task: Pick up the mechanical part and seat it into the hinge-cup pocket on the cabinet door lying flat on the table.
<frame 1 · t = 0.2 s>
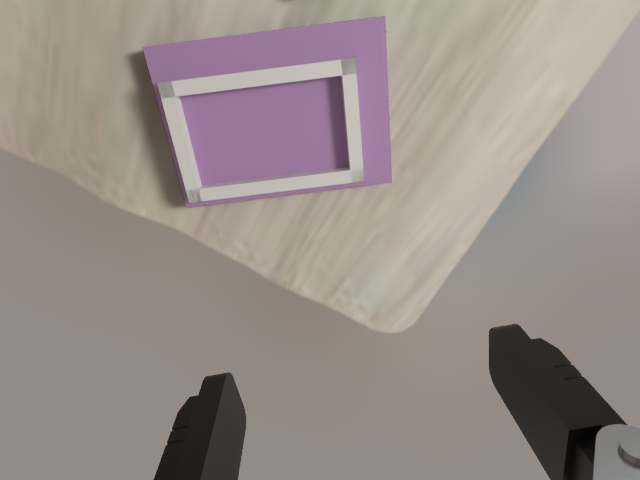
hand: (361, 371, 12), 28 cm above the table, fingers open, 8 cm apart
door panel: (278, 117, 36), on the table
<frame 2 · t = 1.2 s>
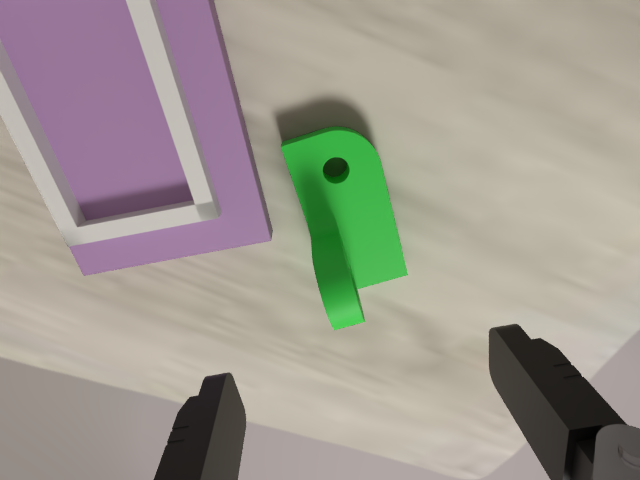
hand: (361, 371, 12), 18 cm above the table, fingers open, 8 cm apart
mechanical part: (346, 205, 29), on the table
door panel: (133, 113, 25), on the table
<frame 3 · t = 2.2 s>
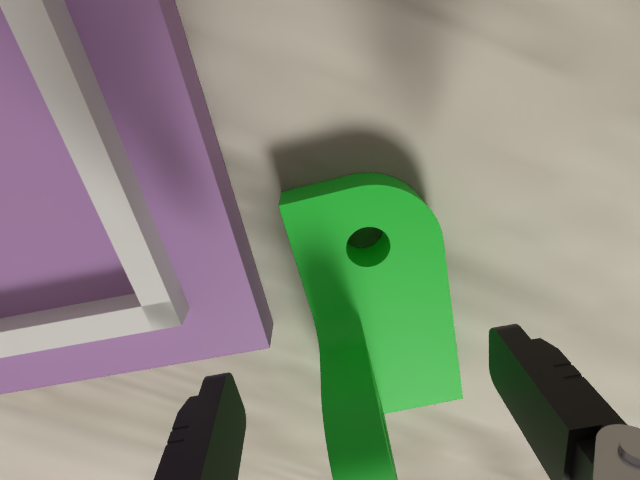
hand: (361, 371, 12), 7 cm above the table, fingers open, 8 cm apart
mechanical part: (375, 288, 19), on the table
door panel: (43, 154, 15), on the table
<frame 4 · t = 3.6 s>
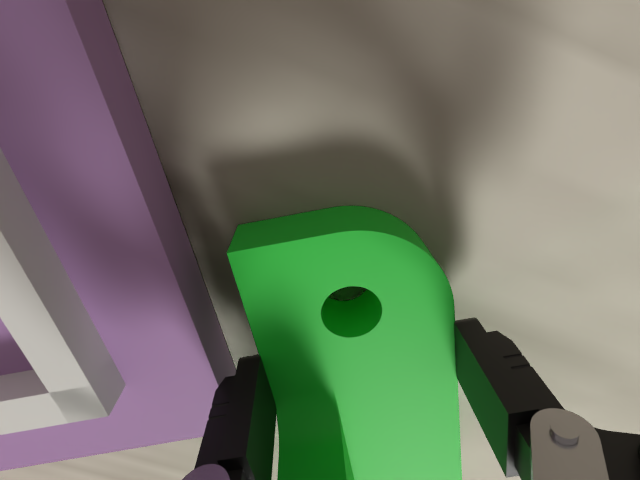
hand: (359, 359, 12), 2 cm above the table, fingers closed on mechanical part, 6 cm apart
mechanical part: (357, 351, 15), on the table, touching gripper
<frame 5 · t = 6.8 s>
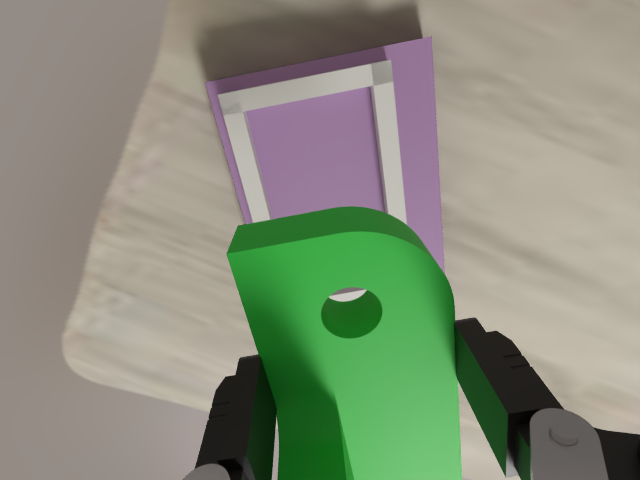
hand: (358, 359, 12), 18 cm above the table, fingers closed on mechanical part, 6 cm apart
mechanical part: (357, 352, 15), point 16 cm above the table, touching gripper
door panel: (340, 203, 29), on the table
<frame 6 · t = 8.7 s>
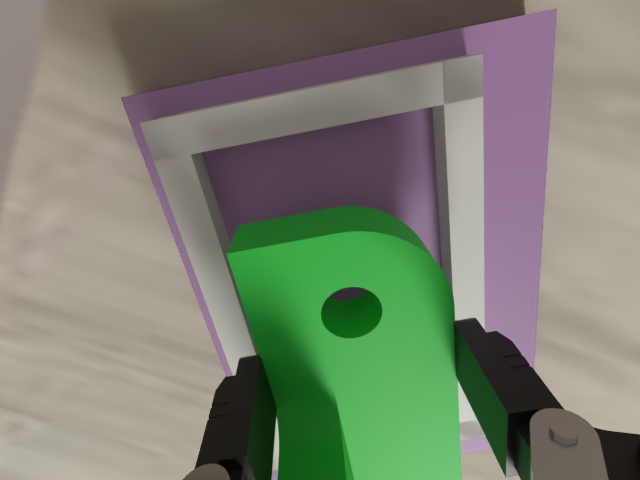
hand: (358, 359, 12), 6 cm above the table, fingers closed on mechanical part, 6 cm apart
mechanical part: (357, 352, 15), point 4 cm above the table, touching gripper
door panel: (366, 289, 18), on the table
when the fingers open (5 cm above the table, at t = 10.0 s): mechanical part stays where it is, resting on door panel.
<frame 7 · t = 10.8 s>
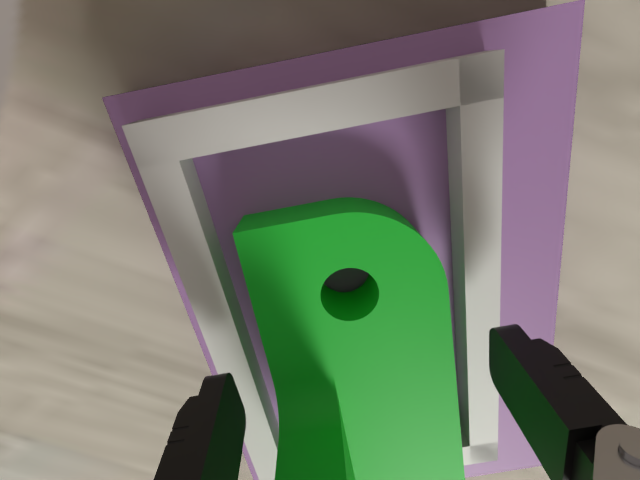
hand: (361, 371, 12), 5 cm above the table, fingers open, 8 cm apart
mechanical part: (358, 346, 15), point 2 cm above the table, touching door panel
door panel: (371, 303, 17), on the table
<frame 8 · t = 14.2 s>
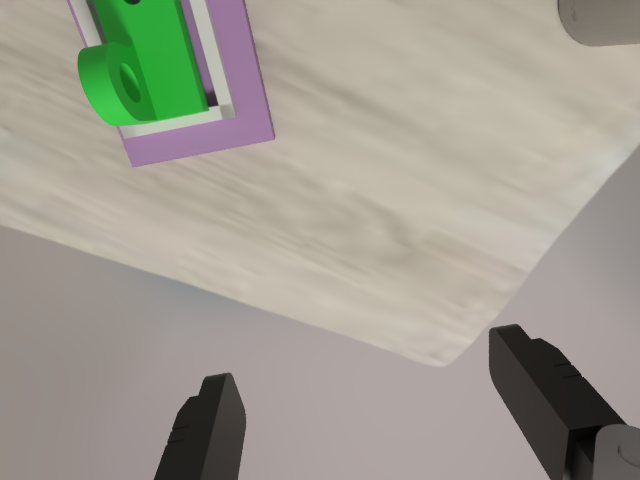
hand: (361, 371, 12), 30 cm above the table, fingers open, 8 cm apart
mechanical part: (156, 44, 32), point 2 cm above the table, touching door panel
door panel: (173, 39, 34), on the table
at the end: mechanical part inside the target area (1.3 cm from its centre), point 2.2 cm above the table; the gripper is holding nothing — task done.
